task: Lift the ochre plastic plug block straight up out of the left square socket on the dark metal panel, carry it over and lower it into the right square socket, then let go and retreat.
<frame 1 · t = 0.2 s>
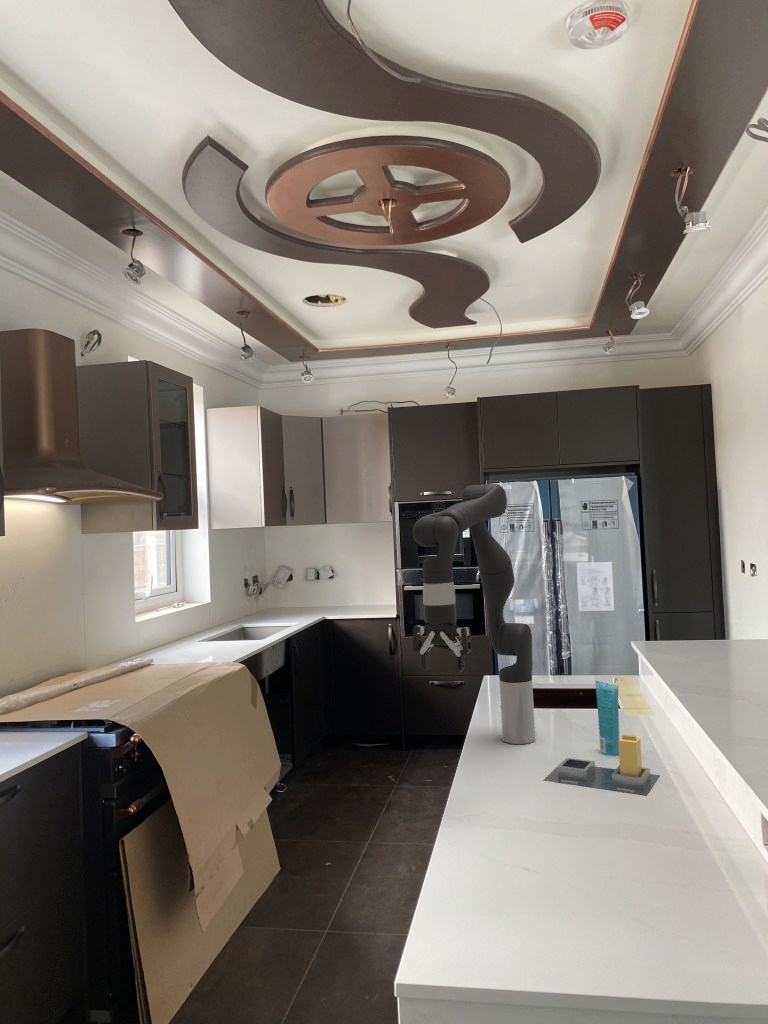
hand: (443, 670, 175), 29 cm above the counter, tool pointing down, fingers open, 8 cm apart
plug: (631, 782, 174), point 1 cm above the counter, touching panel
tube: (610, 756, 196), on the counter
panel: (601, 782, 178), on the counter
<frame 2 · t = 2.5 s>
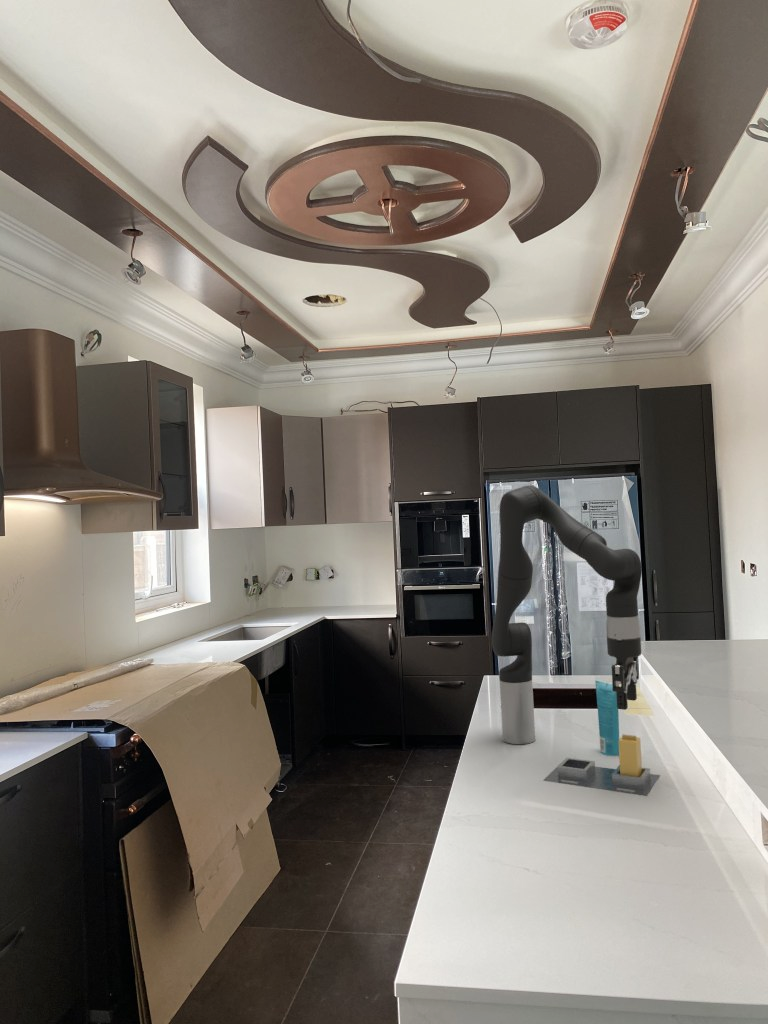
hand: (627, 704, 174), 19 cm above the counter, tool pointing down, fingers open, 8 cm apart
nothing on the counter moved.
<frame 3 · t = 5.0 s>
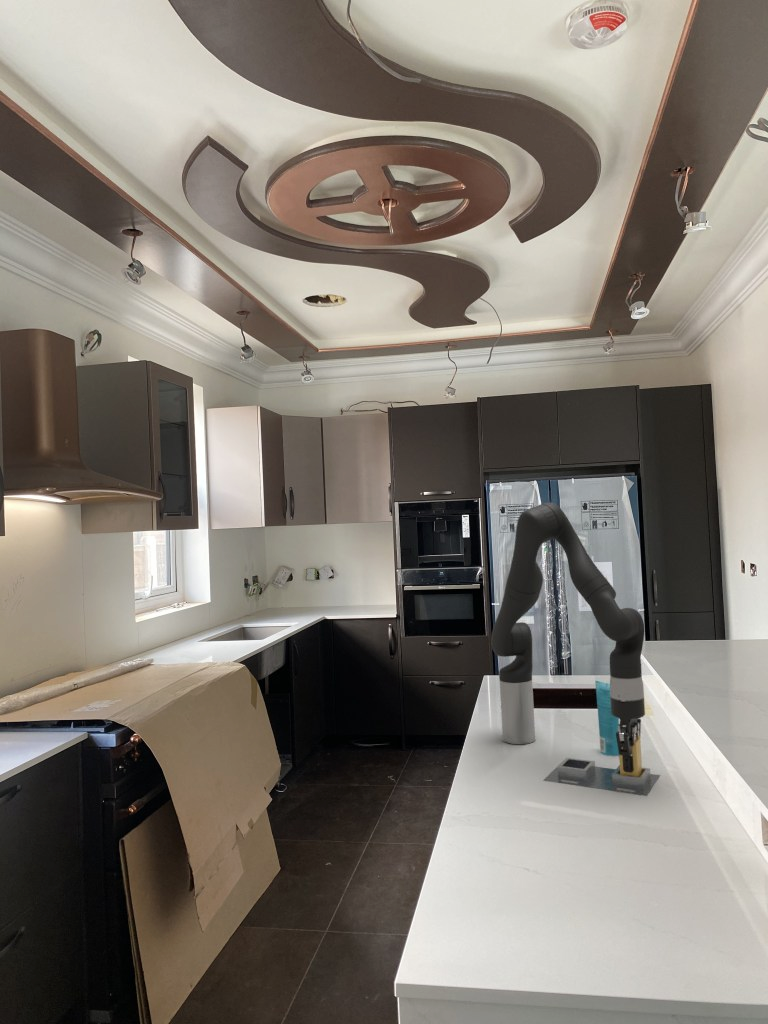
hand: (630, 768, 174), 4 cm above the counter, tool pointing down, fingers closed on plug, 4 cm apart
plug: (631, 782, 174), point 1 cm above the counter, touching gripper, panel
everything else where it was.
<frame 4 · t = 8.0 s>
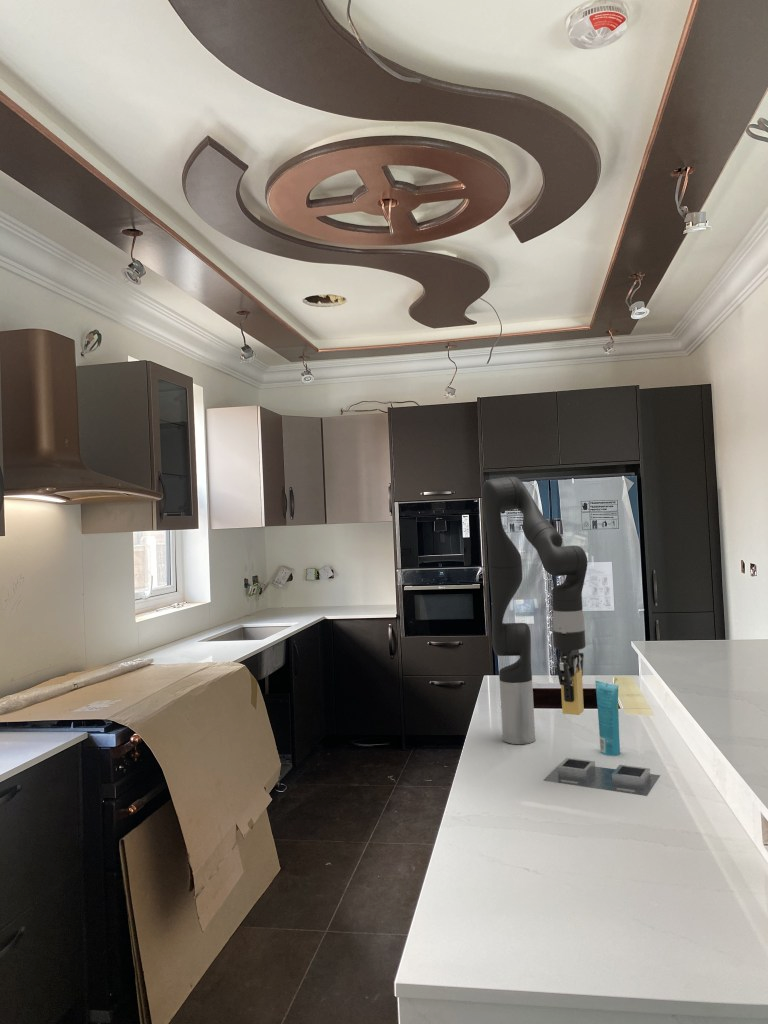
hand: (572, 698, 181), 19 cm above the counter, tool pointing down, fingers closed on plug, 4 cm apart
plug: (573, 712, 181), point 16 cm above the counter, touching gripper
everything else where it was.
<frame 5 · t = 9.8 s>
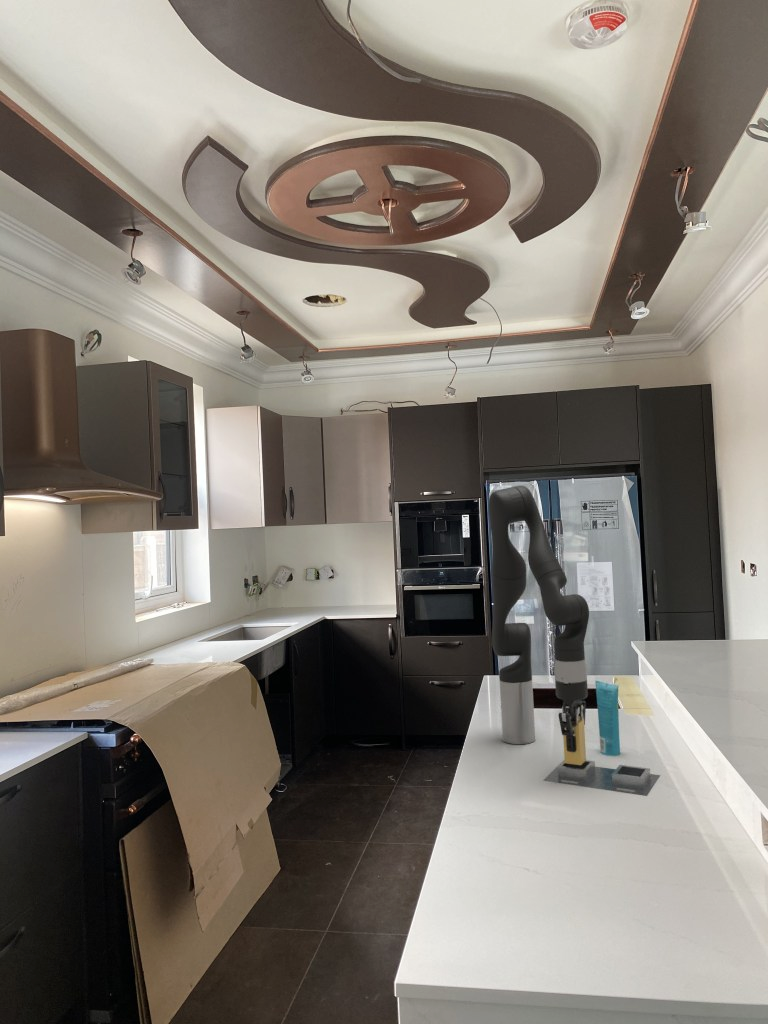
hand: (574, 748, 181), 7 cm above the counter, tool pointing down, fingers closed on plug, 4 cm apart
plug: (575, 761, 181), point 4 cm above the counter, touching gripper
everything else where it was.
when the fingers open (5 cm above the counter, at t = 11.1 s): plug stays where it is, resting on panel.
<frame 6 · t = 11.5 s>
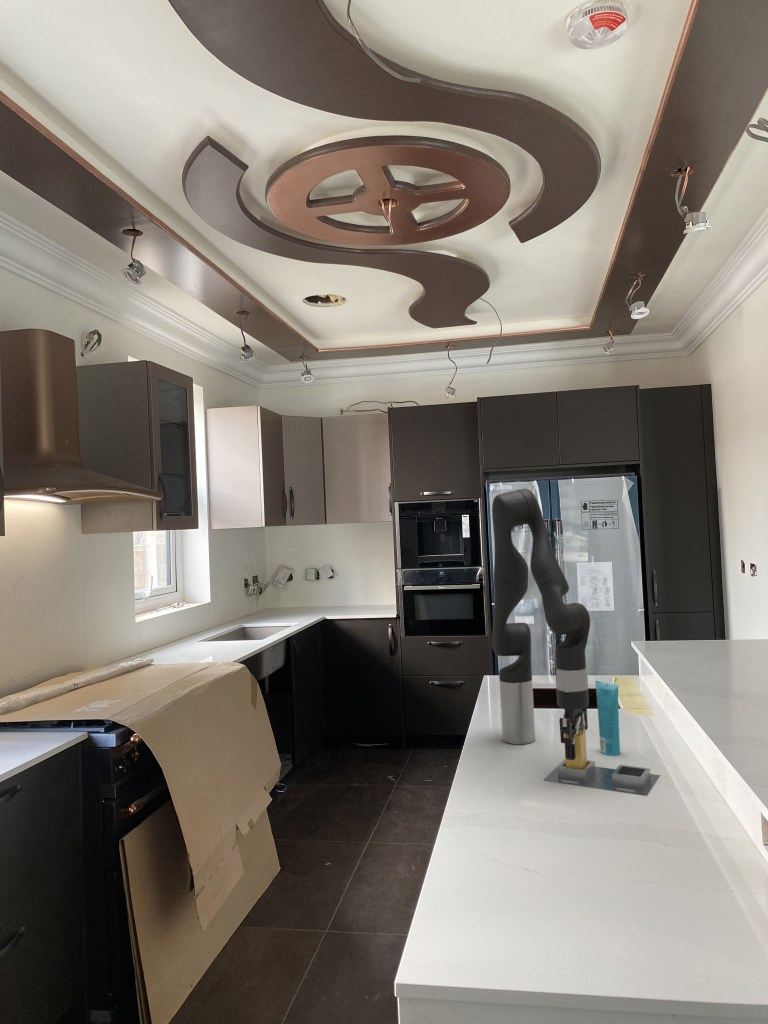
hand: (575, 754, 181), 6 cm above the counter, tool pointing down, fingers open, 7 cm apart
plug: (576, 774, 181), point 1 cm above the counter, touching panel
everything else where it was.
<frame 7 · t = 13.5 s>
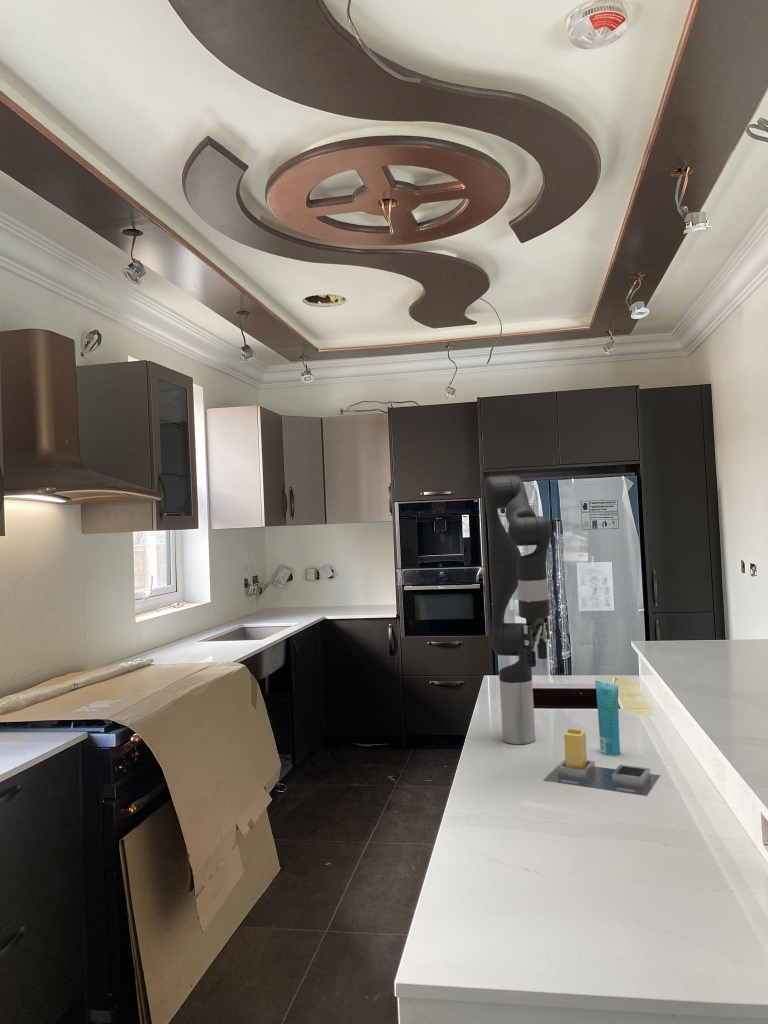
hand: (537, 662, 185), 28 cm above the counter, tool pointing down, fingers open, 8 cm apart
nothing on the counter moved.
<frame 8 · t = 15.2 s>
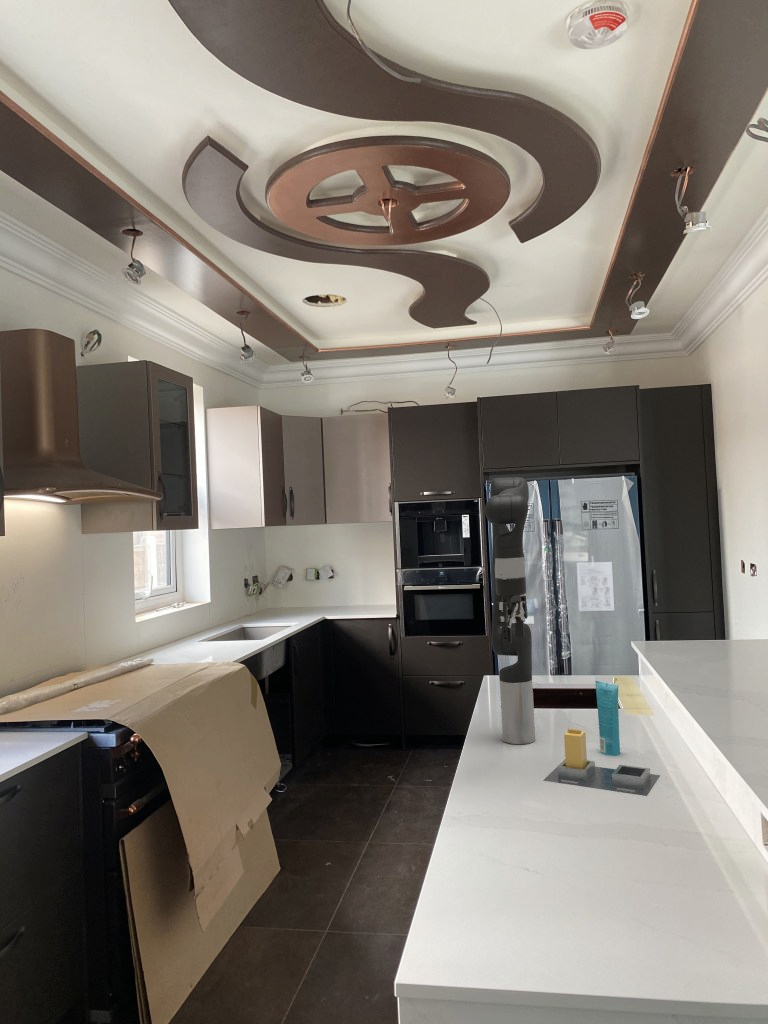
hand: (513, 640, 188), 33 cm above the counter, tool pointing down, fingers open, 8 cm apart
nothing on the counter moved.
at the end: plug 0.1 cm from the target spot on the panel, point 1.0 cm above the panel's base; plug tilted 0°; the gripper is holding nothing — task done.
